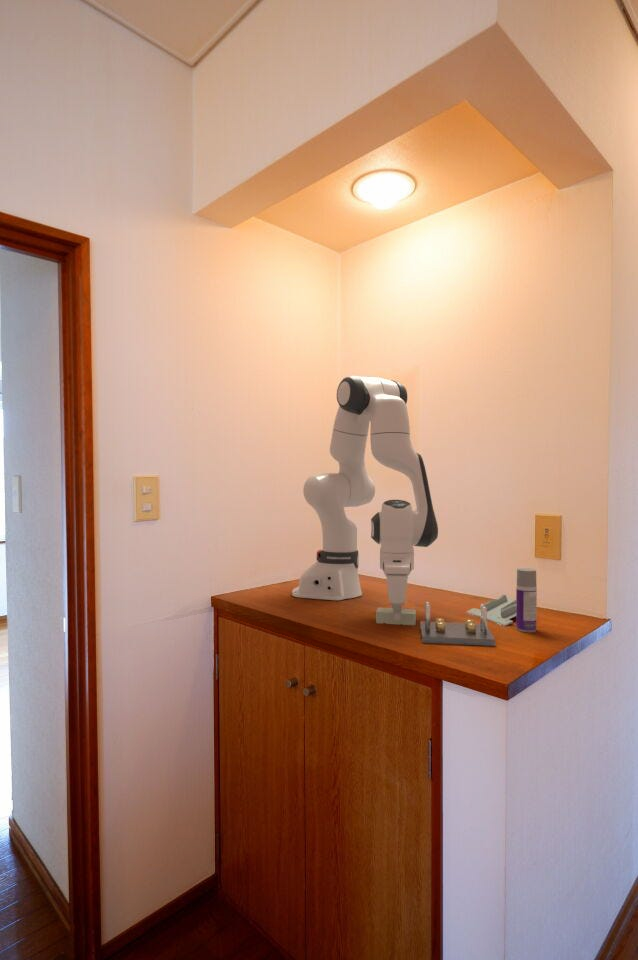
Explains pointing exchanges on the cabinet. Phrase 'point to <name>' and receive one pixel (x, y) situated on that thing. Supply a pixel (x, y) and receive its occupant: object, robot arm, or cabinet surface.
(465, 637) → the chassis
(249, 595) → the cabinet surface
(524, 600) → the container
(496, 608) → the metal bracket
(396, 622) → the board
